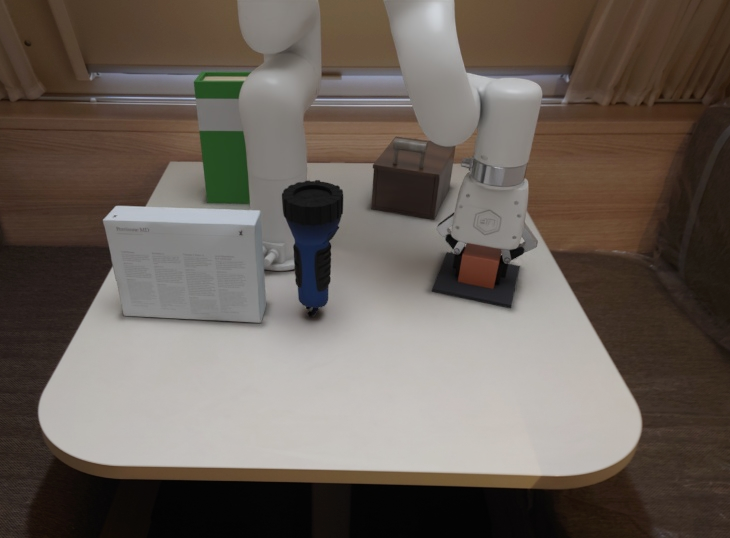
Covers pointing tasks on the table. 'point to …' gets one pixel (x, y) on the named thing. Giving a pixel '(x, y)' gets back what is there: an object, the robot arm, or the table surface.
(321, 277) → the flashlight
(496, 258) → the small box
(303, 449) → the table surface
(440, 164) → the lid
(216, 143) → the hardback book
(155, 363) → the table surface
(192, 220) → the skincare box
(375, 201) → the chest
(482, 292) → the mat
